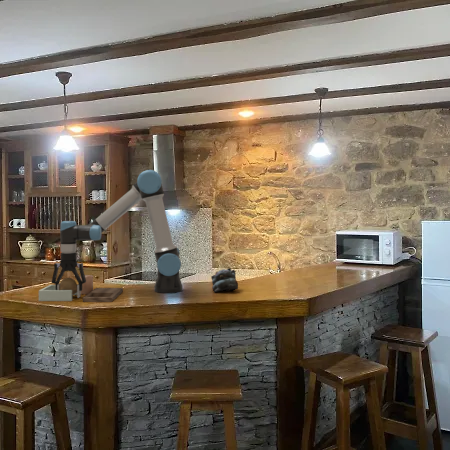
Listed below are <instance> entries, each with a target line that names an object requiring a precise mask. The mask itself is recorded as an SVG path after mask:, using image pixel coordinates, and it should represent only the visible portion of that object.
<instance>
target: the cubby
mask: <svg viewBox="0 0 450 450" xmlns="http://www.w3.org/2000/svg"><path fill="white" fill-rule="evenodd" d="M81 295H82V294H81V291H80V296H81ZM73 296H77V292H76V293H75V294H73V295H72V290H56V288H55V284H48V285H47V286H45V287H44V288H41V289H39V290H38V302H72V301H73Z"/></svg>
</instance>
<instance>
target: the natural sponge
mask: <svg viewBox="0 0 450 450" xmlns="http://www.w3.org/2000/svg"><path fill="white" fill-rule="evenodd" d="M59 284H60V286H59V290H72V296H74V295H73V294H75V293H76V292H77V285H78V282H77V280H75V279H74V278H71V277H65V278H63V279H61V280H60V282H59Z"/></svg>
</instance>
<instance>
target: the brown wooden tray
mask: <svg viewBox="0 0 450 450" xmlns="http://www.w3.org/2000/svg"><path fill="white" fill-rule="evenodd" d="M123 292H124V289H123V287H95V288H93V291H91V292H90V293H89V294H85V295H84V296H83V297H82V303H113V302H114V301H115V300H116V299H117V298H118V297H119V296H120V295H121V294H122V293H123ZM114 299H115V300H114ZM113 300H114V301H113ZM112 301H113V302H112Z"/></svg>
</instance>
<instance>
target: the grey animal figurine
mask: <svg viewBox="0 0 450 450" xmlns="http://www.w3.org/2000/svg"><path fill="white" fill-rule="evenodd" d="M236 274H237V273H236V270H235V269H231V268H230V267H229V268H227V269H221V270H218V271H216V273H215V274H213V275H211V276H210V277H211V278H210V279H211V283H212V287H211V288H212V289H211V290H212V292H213V291H214V292H213V293H217V292H224V291H223V290H226V291H232V290H235V291H236V290H238V289H239V283H238V280H237V279H236V278H237V277H236Z"/></svg>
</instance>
